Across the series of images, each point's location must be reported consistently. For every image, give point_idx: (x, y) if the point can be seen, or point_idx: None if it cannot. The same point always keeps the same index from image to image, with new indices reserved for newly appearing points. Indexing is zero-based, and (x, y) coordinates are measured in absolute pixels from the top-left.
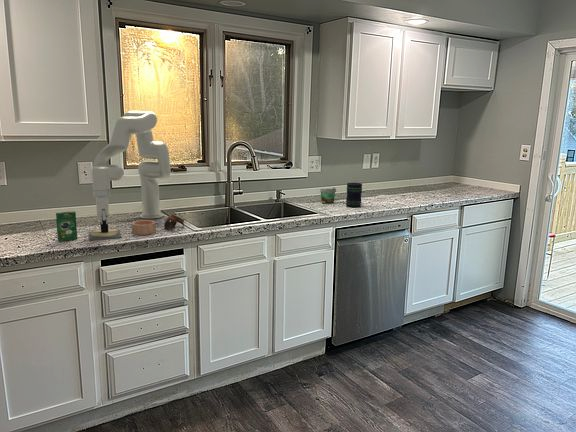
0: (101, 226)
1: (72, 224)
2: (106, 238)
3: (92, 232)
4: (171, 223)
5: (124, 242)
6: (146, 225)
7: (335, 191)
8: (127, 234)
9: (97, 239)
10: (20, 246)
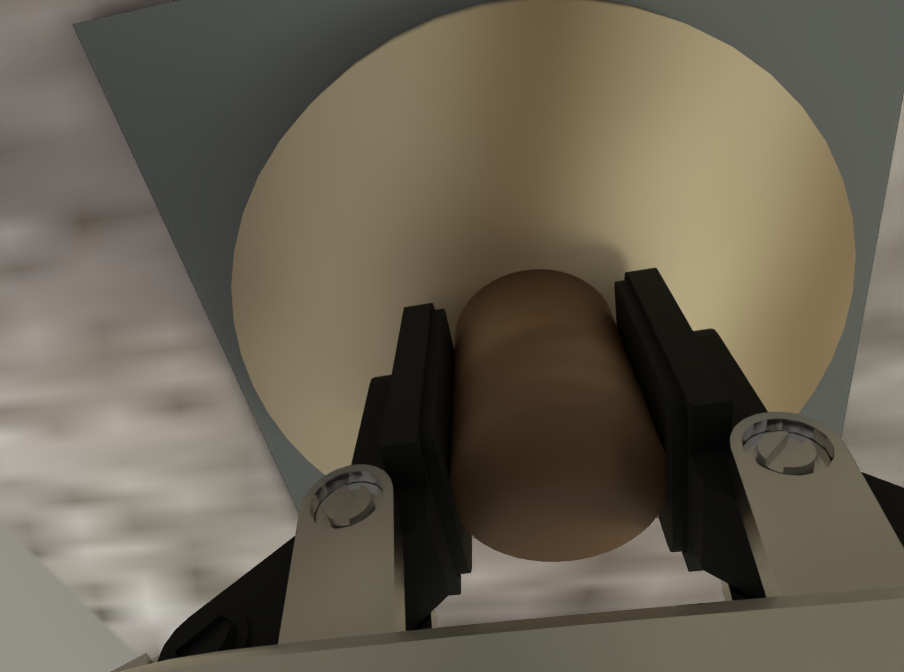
0: (389, 412)
1: None
2: (233, 364)
3: (545, 41)
4: None
5: (89, 576)
6: None
7: None
8: (531, 581)
9: (165, 208)
10: None
